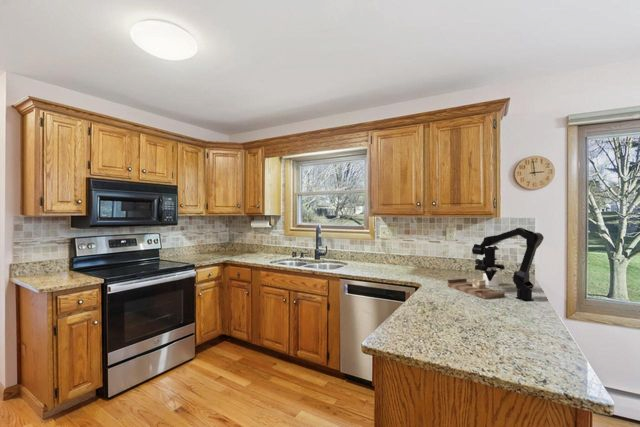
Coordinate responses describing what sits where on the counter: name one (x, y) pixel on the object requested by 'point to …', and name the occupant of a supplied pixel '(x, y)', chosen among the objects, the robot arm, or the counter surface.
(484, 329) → the counter surface
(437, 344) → the counter surface
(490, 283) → the medicine bottle
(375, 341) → the counter surface
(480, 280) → the maple cube
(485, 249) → the robot arm
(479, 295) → the trap deck
